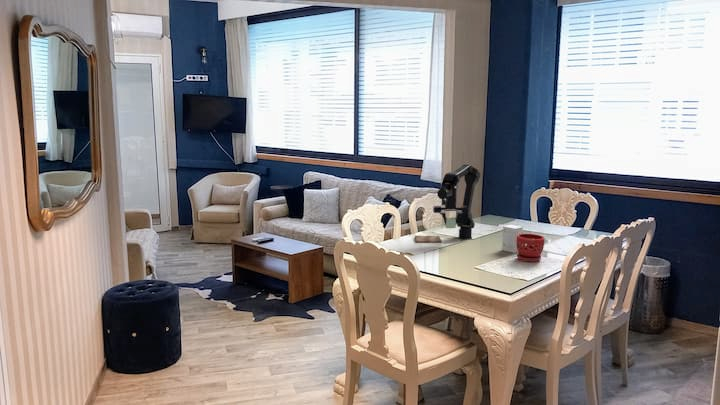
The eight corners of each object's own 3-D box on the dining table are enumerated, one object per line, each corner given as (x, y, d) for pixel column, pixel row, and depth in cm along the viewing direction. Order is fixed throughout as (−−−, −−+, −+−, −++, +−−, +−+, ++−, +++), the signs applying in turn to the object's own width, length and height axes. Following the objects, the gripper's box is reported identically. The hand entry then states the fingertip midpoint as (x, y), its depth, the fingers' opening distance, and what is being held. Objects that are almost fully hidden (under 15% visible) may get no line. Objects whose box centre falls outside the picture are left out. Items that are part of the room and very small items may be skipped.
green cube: (454, 226, 305) (454, 217, 304) (455, 228, 300) (455, 219, 300) (445, 226, 306) (445, 217, 305) (446, 228, 301) (446, 219, 300)
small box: (522, 251, 290) (523, 226, 288) (514, 253, 286) (515, 228, 284) (509, 248, 296) (510, 224, 294) (501, 250, 292) (502, 226, 290)
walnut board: (439, 237, 320) (439, 235, 320) (441, 242, 308) (441, 240, 308) (414, 237, 321) (414, 235, 320) (416, 242, 309) (416, 240, 309)
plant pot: (539, 264, 267) (540, 240, 264) (512, 260, 273) (513, 237, 271) (546, 258, 277) (547, 234, 275) (520, 254, 284) (521, 231, 282)
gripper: (466, 194, 308) (465, 221, 310) (432, 194, 308) (431, 221, 311) (469, 197, 297) (468, 226, 300) (434, 197, 297) (433, 226, 300)
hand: (450, 224), depth 303 cm, fingers closed on green cube, 5 cm apart
